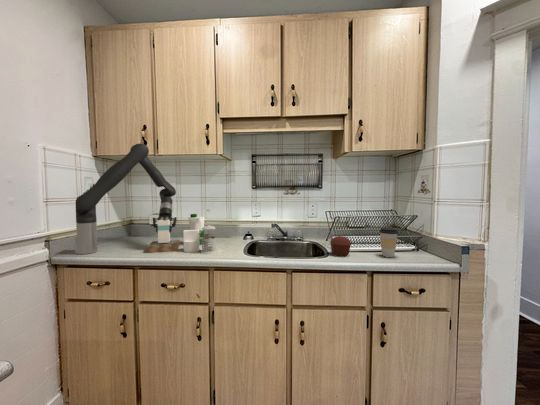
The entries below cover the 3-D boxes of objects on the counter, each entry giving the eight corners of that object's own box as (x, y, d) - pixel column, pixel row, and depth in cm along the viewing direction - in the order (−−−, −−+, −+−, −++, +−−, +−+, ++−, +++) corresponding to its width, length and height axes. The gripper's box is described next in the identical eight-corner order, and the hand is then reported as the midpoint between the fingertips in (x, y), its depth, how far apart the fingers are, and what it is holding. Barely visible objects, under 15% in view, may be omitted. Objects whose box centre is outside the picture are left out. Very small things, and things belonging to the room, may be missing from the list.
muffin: (326, 255, 133) (327, 237, 133) (333, 251, 142) (333, 234, 142) (348, 258, 127) (349, 239, 126) (353, 253, 136) (354, 236, 136)
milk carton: (194, 242, 166) (193, 213, 165) (206, 242, 164) (206, 213, 163) (187, 245, 157) (186, 214, 156) (200, 245, 155) (199, 214, 155)
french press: (212, 254, 134) (211, 209, 133) (194, 252, 137) (193, 209, 136) (220, 250, 143) (220, 208, 142) (203, 248, 147) (203, 208, 146)
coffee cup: (383, 253, 138) (384, 227, 137) (400, 256, 130) (401, 229, 130) (375, 255, 132) (375, 228, 131) (392, 259, 125) (393, 230, 124)
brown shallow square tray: (147, 253, 137) (147, 246, 136) (152, 246, 152) (152, 241, 152) (177, 251, 141) (177, 244, 141) (179, 245, 156) (179, 239, 156)
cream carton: (157, 243, 143) (157, 219, 142) (159, 241, 148) (159, 218, 148) (169, 242, 144) (168, 219, 144) (170, 240, 150) (169, 218, 149)
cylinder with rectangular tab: (200, 248, 149) (200, 229, 148) (198, 251, 140) (198, 231, 139) (185, 248, 147) (185, 229, 147) (182, 252, 138) (182, 231, 138)
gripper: (152, 207, 150) (149, 228, 140) (177, 206, 155) (176, 227, 144) (154, 214, 156) (151, 236, 145) (178, 214, 160) (176, 235, 149)
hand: (163, 231), depth 144 cm, fingers closed on cream carton, 6 cm apart
